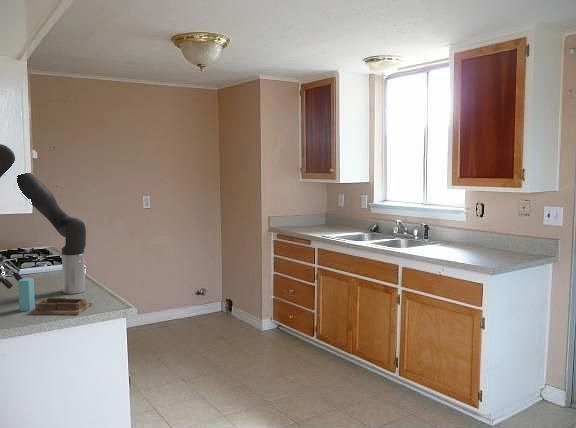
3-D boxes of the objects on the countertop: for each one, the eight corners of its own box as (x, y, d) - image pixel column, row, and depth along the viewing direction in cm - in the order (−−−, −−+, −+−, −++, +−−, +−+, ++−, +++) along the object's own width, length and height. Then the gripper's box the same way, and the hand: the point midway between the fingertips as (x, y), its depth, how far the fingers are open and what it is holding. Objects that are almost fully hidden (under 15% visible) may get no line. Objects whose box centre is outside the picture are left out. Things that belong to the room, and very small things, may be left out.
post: (25, 307, 206) (23, 278, 205) (35, 308, 206) (33, 278, 205) (19, 310, 202) (18, 280, 201) (29, 310, 202) (28, 280, 201)
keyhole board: (47, 304, 210) (47, 296, 210) (91, 305, 210) (91, 296, 210) (31, 314, 198) (31, 305, 197) (78, 314, 197) (77, 305, 197)
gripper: (-18, 251, 195) (13, 282, 196) (3, 245, 209) (33, 274, 210) (-31, 265, 196) (0, 295, 196) (-9, 258, 210) (20, 286, 211)
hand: (17, 284), depth 203 cm, fingers open, 8 cm apart
